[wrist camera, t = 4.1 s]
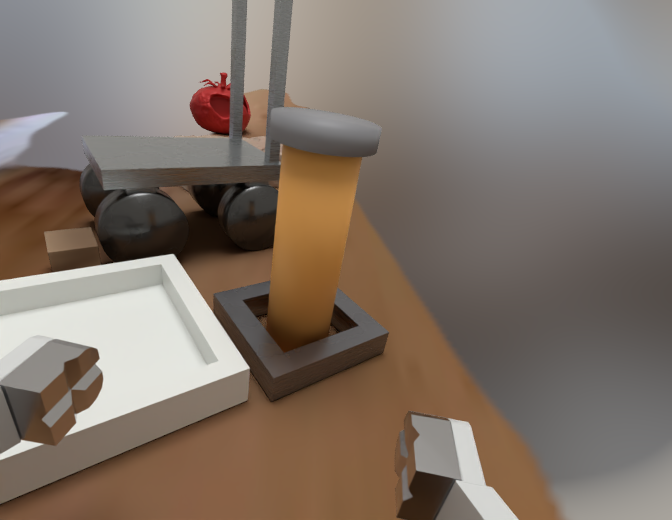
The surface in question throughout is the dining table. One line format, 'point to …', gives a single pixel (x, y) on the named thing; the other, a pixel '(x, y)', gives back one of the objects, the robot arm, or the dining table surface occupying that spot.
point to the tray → (121, 360)
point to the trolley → (190, 170)
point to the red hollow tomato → (216, 107)
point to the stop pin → (312, 217)
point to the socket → (304, 362)
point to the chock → (72, 249)
